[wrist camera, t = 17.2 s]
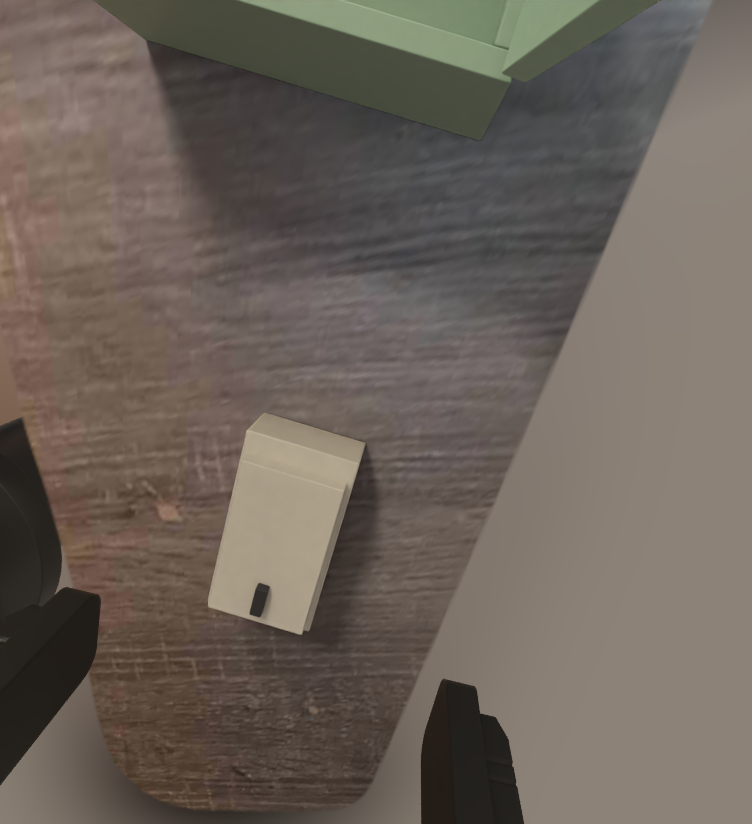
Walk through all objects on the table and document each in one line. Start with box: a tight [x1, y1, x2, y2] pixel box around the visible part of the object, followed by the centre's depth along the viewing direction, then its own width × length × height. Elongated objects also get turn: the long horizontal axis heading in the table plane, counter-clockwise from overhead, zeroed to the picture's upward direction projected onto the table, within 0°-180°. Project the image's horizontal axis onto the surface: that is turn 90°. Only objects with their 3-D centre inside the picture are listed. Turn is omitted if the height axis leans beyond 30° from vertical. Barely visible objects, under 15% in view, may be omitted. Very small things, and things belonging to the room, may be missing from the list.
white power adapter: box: [208, 413, 366, 635], centre depth 28 cm, size 10×6×4 cm, turn 164°
